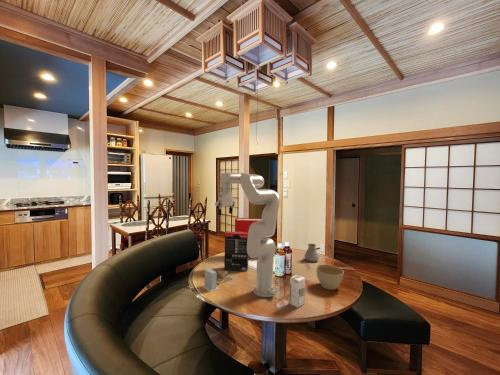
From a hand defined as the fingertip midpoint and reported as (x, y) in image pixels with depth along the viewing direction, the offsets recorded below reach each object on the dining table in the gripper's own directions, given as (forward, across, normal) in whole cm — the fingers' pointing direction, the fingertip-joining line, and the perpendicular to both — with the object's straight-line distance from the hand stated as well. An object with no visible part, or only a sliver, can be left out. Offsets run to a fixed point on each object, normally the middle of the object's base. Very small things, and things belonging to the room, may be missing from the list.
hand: (225, 214), depth 165 cm
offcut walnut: (+38, -11, -13) cm, 42 cm away
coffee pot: (+40, +63, -34) cm, 82 cm away
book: (+41, +33, +8) cm, 53 cm away
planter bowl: (+40, +34, -63) cm, 82 cm away
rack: (+40, -12, -8) cm, 43 cm away
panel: (+40, -23, -17) cm, 49 cm away
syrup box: (+40, +2, -62) cm, 74 cm away
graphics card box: (+41, +7, -5) cm, 42 cm away
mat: (+40, -23, -17) cm, 49 cm away
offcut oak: (+41, -11, -13) cm, 44 cm away
